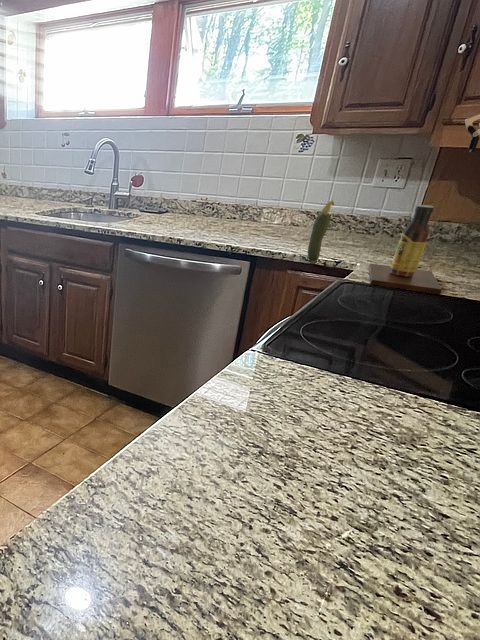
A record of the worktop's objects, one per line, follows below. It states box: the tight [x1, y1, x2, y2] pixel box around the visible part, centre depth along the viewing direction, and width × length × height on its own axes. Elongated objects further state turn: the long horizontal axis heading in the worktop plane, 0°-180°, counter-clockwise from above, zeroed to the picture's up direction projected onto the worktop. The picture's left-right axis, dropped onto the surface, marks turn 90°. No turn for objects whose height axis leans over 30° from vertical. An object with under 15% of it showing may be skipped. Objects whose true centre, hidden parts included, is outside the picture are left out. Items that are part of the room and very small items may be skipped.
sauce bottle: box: [390, 204, 435, 277], centre depth 150 cm, size 7×6×20 cm
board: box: [367, 263, 443, 295], centre depth 155 cm, size 16×24×2 cm, turn 148°
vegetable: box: [307, 200, 335, 265], centre depth 168 cm, size 4×4×20 cm
